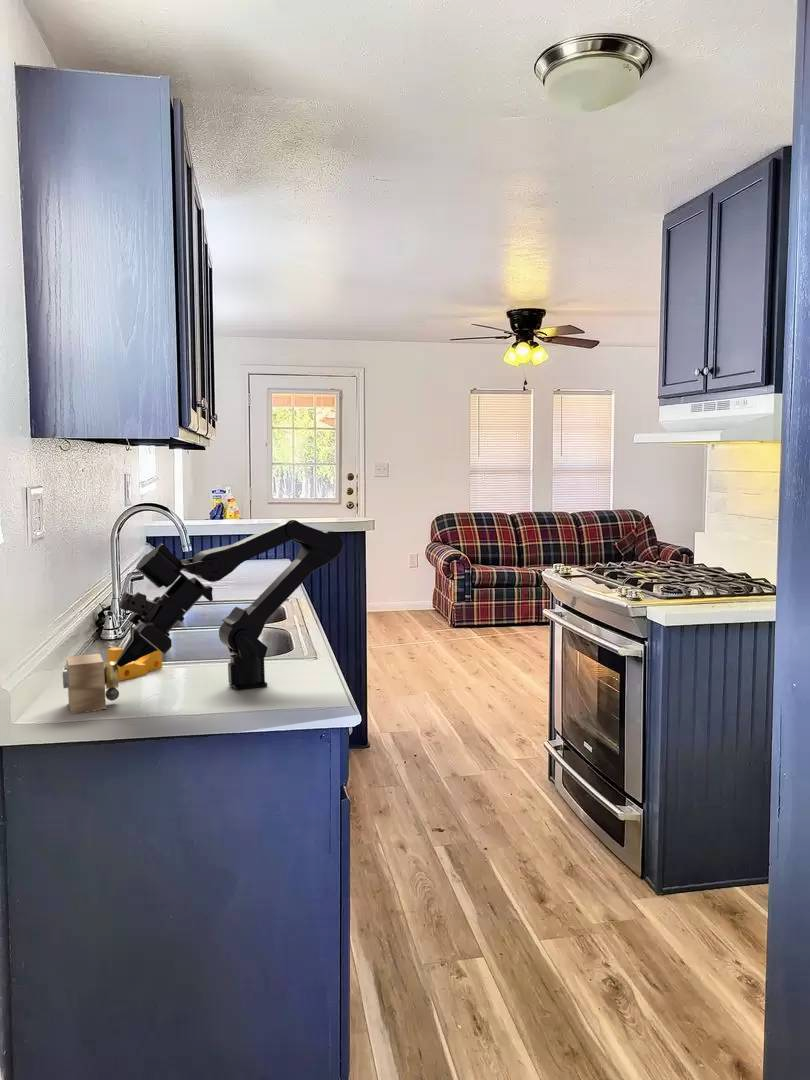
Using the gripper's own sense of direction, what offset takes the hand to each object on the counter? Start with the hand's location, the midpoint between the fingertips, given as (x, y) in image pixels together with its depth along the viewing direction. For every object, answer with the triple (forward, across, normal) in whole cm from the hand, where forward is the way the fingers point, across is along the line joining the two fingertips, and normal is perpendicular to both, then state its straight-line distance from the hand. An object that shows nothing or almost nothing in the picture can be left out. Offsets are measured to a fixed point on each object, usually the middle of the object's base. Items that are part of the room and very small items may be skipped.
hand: (118, 665), depth 159 cm
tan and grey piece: (+8, 0, +1) cm, 8 cm away
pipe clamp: (+1, -23, +10) cm, 25 cm away
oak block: (+9, 0, +1) cm, 9 cm away
